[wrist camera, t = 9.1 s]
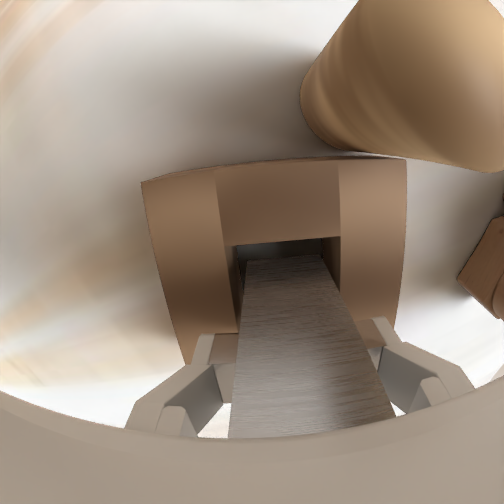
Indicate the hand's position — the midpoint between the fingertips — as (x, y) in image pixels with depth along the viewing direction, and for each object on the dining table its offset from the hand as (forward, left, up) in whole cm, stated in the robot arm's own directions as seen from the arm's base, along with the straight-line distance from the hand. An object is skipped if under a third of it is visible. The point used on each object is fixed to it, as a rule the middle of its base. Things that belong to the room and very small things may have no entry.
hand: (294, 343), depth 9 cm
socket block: (0, 0, -7) cm, 7 cm away
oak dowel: (-9, +5, -7) cm, 12 cm away
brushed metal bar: (0, 0, -4) cm, 4 cm away
